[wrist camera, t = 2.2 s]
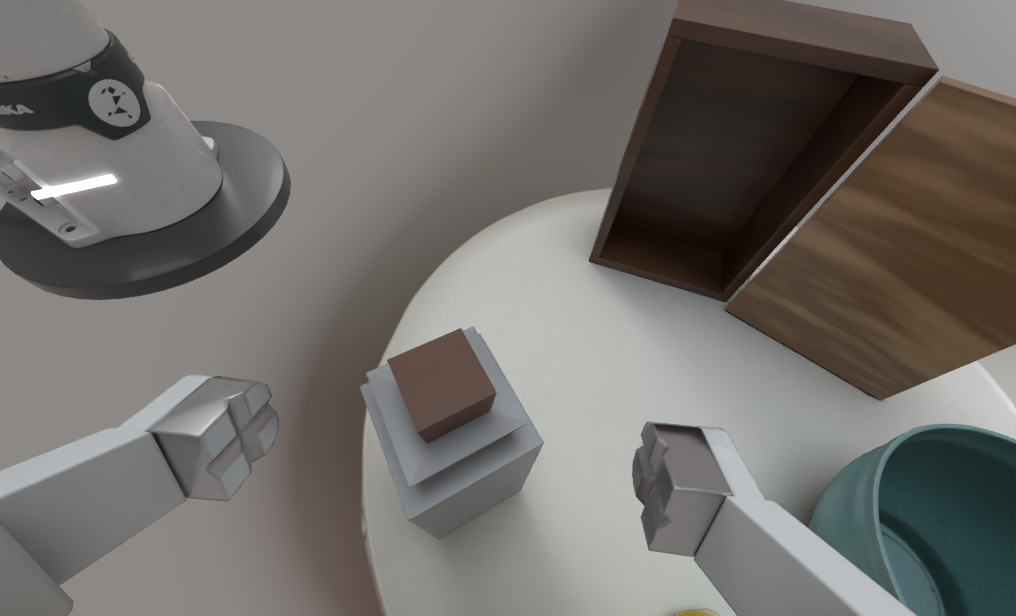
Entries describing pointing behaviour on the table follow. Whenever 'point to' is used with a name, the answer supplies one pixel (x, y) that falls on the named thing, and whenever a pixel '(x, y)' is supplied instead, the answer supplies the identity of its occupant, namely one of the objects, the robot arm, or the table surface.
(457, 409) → the perfume bottle
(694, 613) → the bread roll
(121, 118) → the robot arm
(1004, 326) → the cupboard door
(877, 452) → the flower pot
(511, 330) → the table surface
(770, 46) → the cupboard
